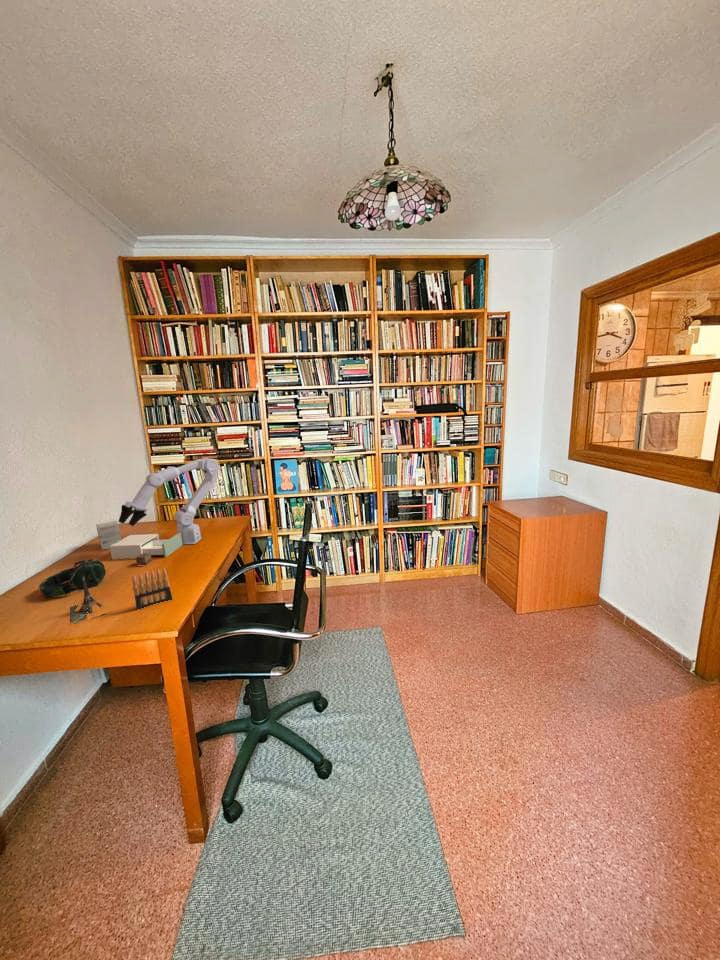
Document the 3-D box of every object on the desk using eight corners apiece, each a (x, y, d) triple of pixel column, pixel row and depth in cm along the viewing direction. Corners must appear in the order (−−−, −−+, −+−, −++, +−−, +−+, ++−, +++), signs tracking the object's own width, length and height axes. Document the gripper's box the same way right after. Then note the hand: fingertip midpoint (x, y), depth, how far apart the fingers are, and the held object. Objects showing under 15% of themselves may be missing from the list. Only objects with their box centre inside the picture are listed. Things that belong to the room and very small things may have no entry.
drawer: (182, 545, 177) (180, 533, 176) (166, 557, 164) (163, 544, 162) (154, 546, 178) (152, 534, 177) (136, 558, 165) (133, 545, 163)
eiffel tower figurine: (70, 608, 126) (61, 572, 123) (105, 597, 132) (98, 562, 129) (70, 627, 114) (60, 588, 111) (109, 614, 120) (100, 577, 117)
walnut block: (151, 562, 160) (150, 553, 159) (146, 566, 156) (144, 557, 155) (143, 562, 160) (141, 553, 160) (137, 566, 156) (135, 557, 156)
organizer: (160, 546, 178) (158, 533, 177) (142, 558, 164) (139, 545, 163) (132, 547, 179) (130, 534, 178) (112, 559, 165) (109, 546, 164)
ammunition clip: (172, 597, 128) (166, 565, 126) (172, 600, 126) (167, 567, 124) (136, 607, 123) (130, 574, 120) (136, 610, 121) (130, 576, 119)
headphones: (101, 558, 152) (41, 582, 140) (94, 544, 142) (28, 568, 130) (113, 586, 147) (51, 612, 136) (106, 573, 137) (39, 600, 126)
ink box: (120, 541, 189) (116, 519, 186) (122, 545, 182) (118, 523, 180) (100, 546, 183) (95, 523, 181) (102, 550, 177) (97, 527, 174)
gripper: (144, 496, 174) (127, 522, 171) (126, 489, 160) (108, 517, 157) (157, 503, 174) (140, 529, 170) (140, 496, 160) (122, 524, 156)
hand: (125, 523), depth 164 cm, fingers open, 7 cm apart
